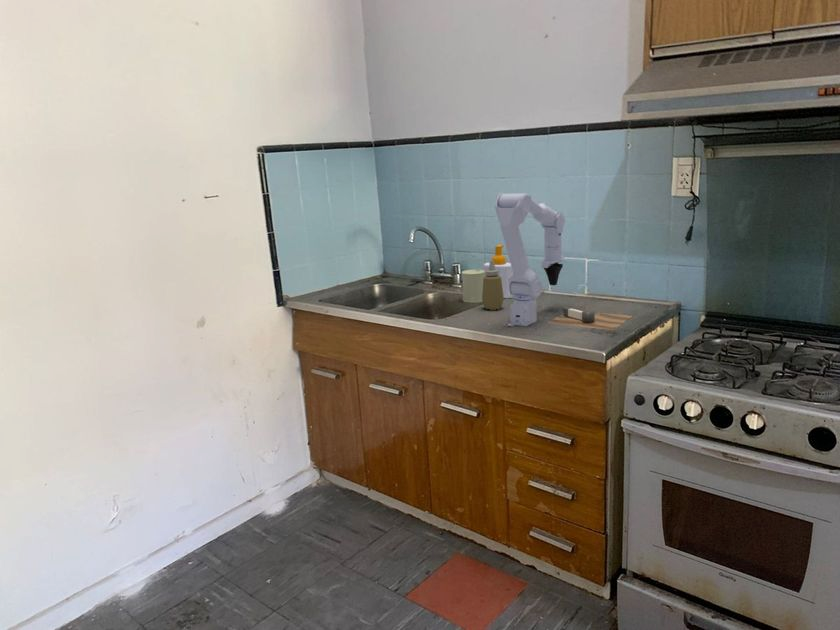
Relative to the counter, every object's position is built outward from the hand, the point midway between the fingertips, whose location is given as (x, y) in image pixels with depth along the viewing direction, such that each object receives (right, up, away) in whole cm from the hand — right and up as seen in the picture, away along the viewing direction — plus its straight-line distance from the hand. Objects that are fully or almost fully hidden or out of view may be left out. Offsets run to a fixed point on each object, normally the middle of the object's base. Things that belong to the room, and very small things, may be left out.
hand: (553, 284), depth 221 cm
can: (-25, -5, +28) cm, 38 cm away
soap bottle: (-15, -3, +32) cm, 35 cm away
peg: (+6, -12, -13) cm, 18 cm away
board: (+9, -13, -13) cm, 21 cm away
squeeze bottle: (-20, -8, +13) cm, 25 cm away
